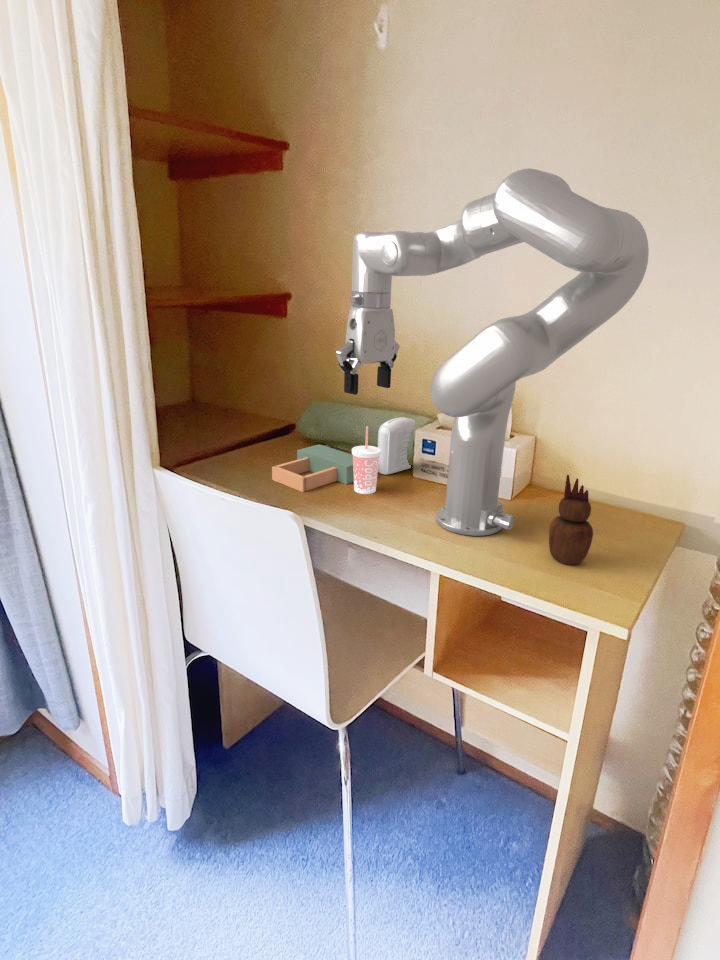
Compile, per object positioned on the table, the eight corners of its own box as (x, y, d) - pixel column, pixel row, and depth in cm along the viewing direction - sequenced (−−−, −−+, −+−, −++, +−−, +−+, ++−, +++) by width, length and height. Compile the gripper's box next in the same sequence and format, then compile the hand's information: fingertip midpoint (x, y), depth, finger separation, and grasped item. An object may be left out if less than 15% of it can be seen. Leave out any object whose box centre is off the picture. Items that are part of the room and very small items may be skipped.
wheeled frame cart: (371, 475, 140) (371, 459, 139) (312, 496, 127) (312, 477, 126) (322, 459, 150) (322, 443, 149) (263, 476, 138) (263, 459, 136)
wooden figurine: (541, 560, 103) (553, 476, 98) (551, 548, 108) (564, 467, 103) (582, 572, 100) (597, 485, 95) (591, 559, 104) (606, 475, 99)
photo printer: (403, 463, 149) (406, 413, 145) (417, 467, 146) (420, 416, 142) (373, 472, 143) (375, 419, 138) (387, 476, 140) (389, 423, 135)
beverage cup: (350, 495, 129) (352, 430, 124) (350, 484, 134) (351, 422, 129) (380, 495, 129) (383, 430, 124) (378, 485, 135) (381, 422, 130)
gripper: (354, 305, 110) (351, 399, 116) (414, 301, 122) (409, 387, 128) (324, 301, 115) (323, 392, 121) (385, 298, 127) (381, 381, 133)
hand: (367, 390), depth 124 cm, fingers open, 9 cm apart
